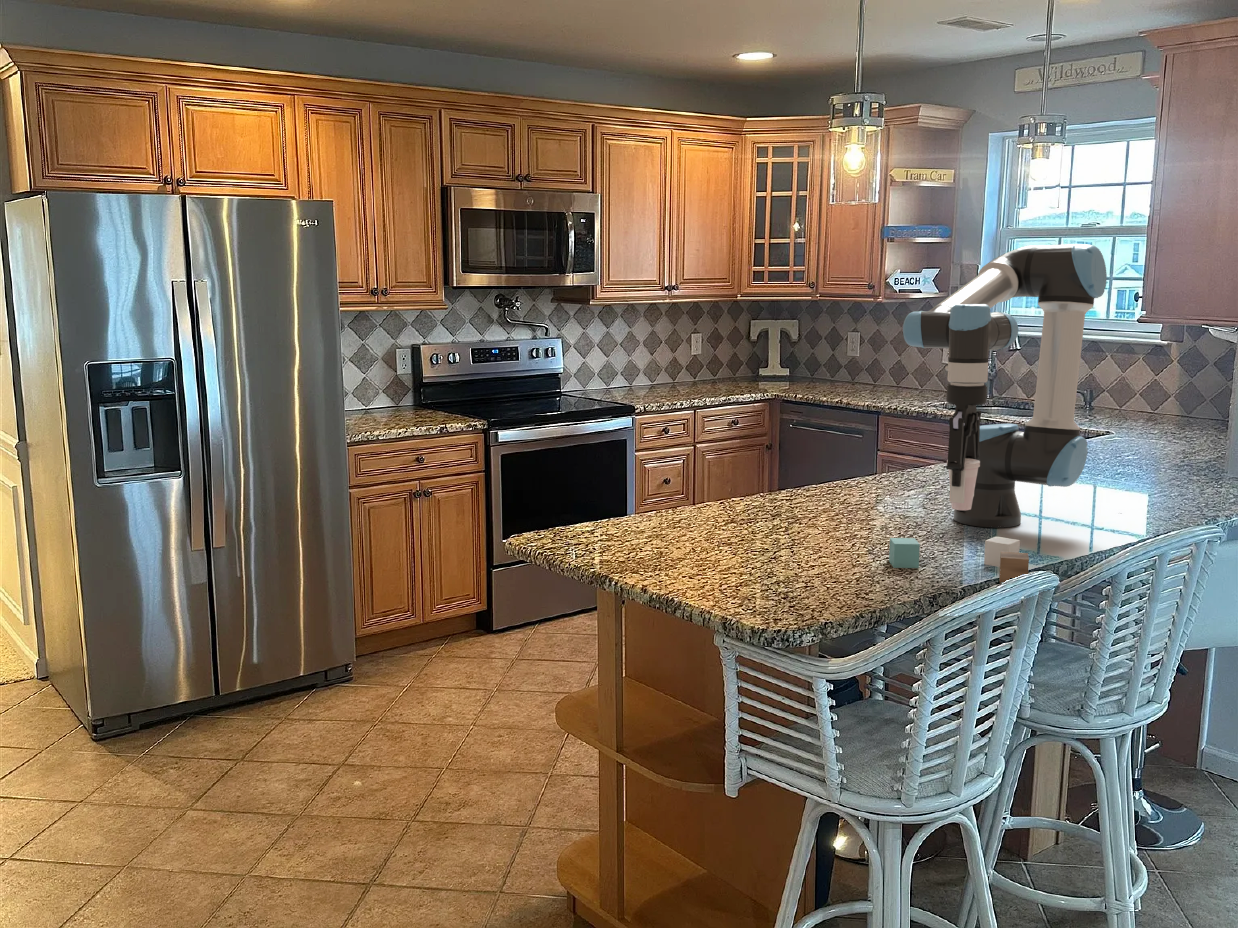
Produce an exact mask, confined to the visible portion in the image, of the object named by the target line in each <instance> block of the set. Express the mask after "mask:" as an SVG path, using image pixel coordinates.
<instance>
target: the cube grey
mask: <svg viewBox="0 0 1238 928" xmlns="http://www.w3.org/2000/svg"><path fill="white" fill-rule="evenodd" d="M1020 543H1021V539H1015V538H1010V537H1009V538H1008V537H1002V536H993V537H991V538H989V539H986V540H985V541H984V556H983V557H984V558H983V559H984V560H983V561H984V563H983V565H986V566H992V567H997V568H1000V554H1001V551H1003V552H1017V553H1020V546H1021V544H1020Z"/></svg>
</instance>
